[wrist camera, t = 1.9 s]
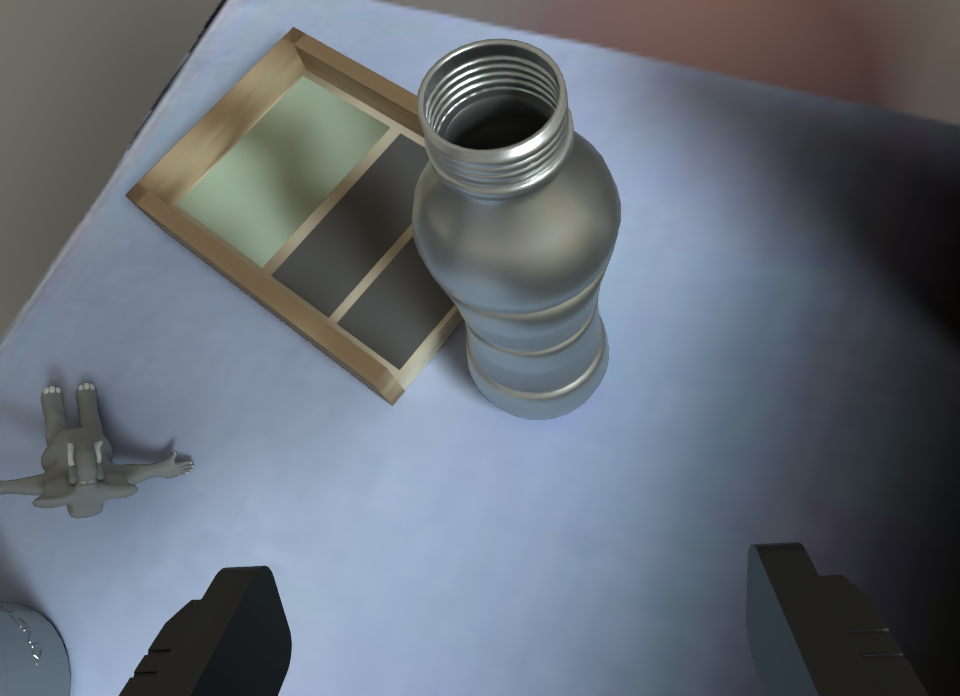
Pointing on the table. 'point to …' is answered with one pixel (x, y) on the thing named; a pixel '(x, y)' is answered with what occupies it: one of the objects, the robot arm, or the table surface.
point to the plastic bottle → (516, 224)
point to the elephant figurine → (83, 461)
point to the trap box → (313, 208)
